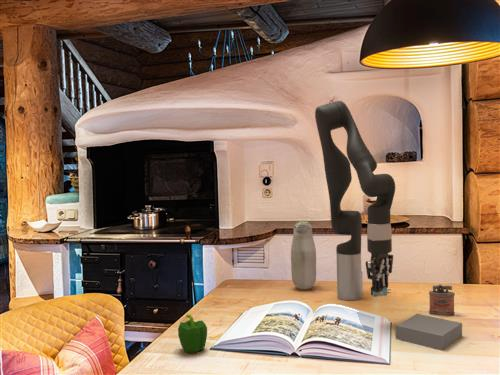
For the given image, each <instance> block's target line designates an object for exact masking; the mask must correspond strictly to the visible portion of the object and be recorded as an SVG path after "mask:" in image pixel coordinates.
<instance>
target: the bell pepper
mask: <svg viewBox="0 0 500 375" xmlns="http://www.w3.org/2000/svg"><path fill="white" fill-rule="evenodd" d="M185 317H186V318H188V320H186V321H185V322H183V321H181V322H179V326H178V328H177V332H178V339H179V342H180V345H181V348H182V349H183V351H184V352H185V353H189V354H195V353H199V351H202V350H204V349H205V346H206V343H207V337H208V327H207V325H206V323H205V322H204V320H197V321H194V317H193V316H192V315H191V314H189V313H188V314H186V315H185Z"/></svg>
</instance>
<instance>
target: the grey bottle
mask: <svg viewBox="0 0 500 375" xmlns="http://www.w3.org/2000/svg"><path fill="white" fill-rule="evenodd" d="M290 267H291V268H290V269H291V270H290V271H291V280H292V283H293V285H294V286H295V287H296V288H297V289H299V290H303V291H304V290H310V289H311V288H312V287H314V286H315V284H316V281H317V250H316V244H315V240H314V234H313V228H312V225H311V223H310V222H309V221H306V220H301V221H300V220H299V221H297V222H296V223H295V224H294V226H293V234H292V241H291V248H290Z"/></svg>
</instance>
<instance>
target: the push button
mask: <svg viewBox="0 0 500 375" xmlns="http://www.w3.org/2000/svg"><path fill="white" fill-rule="evenodd" d="M375 270H379V269H375ZM386 273H387V267H384V265H383V268H382V273H381V274H380V278H379V283H380V291H379V292H373V291H372V286H371V287H370V295H371V296H372V297H373V298H375V297H386V296H388V294H391V293H392V292H391V289H390V288H387V287H385V276H384V274H386ZM376 276H377V273H376Z"/></svg>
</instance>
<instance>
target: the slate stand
mask: <svg viewBox="0 0 500 375" xmlns="http://www.w3.org/2000/svg"><path fill="white" fill-rule="evenodd" d="M462 337H463V323H462V322H461V321H460V322H458V321H454V320H450V319H444V318H441V317H436V316H435V317H434V316H430V315H425V314H422V313H416V314H414V315H412V316H410V317H408V318H407V319H404V320H403V321H401V322H400V323H397V324H395V339H396V340H399V341H404V342H407V343H411V344H416V345H420V346H424V347H428V348H432V349H436V350H440V351H443V350H445V349H446V348H448V347H450V345H453V343H454V342H456V341H457V340H459V339H461V338H462Z"/></svg>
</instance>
